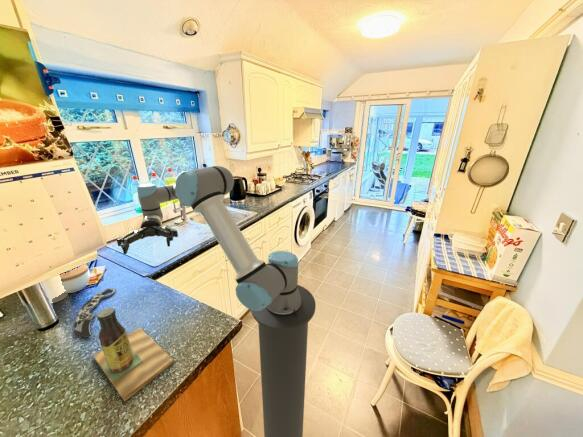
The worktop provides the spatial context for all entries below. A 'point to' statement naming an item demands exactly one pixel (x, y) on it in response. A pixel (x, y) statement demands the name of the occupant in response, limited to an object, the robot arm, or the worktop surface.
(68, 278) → the lidded bowl
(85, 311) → the knife
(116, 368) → the sauce bottle
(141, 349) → the chopping board
